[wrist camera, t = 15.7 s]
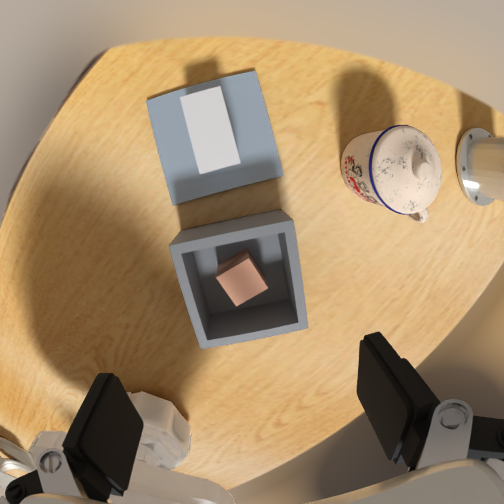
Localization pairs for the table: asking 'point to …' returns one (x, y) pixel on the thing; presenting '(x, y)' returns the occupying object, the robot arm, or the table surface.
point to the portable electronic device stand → (13, 461)
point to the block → (241, 277)
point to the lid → (214, 137)
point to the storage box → (215, 297)
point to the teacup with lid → (394, 170)
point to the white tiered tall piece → (154, 458)
